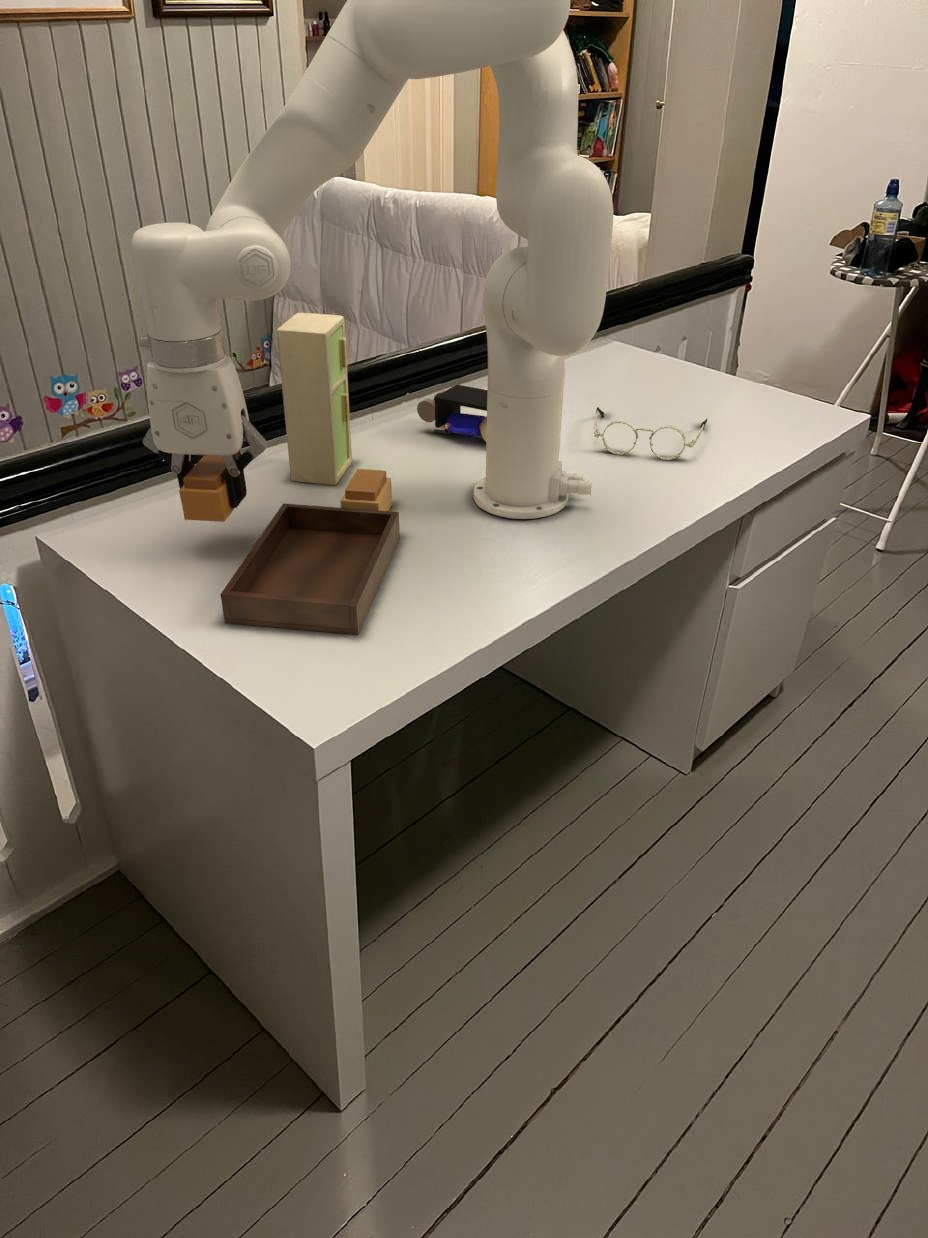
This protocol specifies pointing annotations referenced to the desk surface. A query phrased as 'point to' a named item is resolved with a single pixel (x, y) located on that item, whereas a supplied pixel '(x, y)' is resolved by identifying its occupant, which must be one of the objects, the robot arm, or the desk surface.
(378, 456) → the desk surface
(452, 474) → the desk surface
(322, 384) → the toy refrigerator
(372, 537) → the brown wooden tray
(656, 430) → the round wire eyeglasses
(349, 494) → the stepped wooden block
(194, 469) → the orange stepped block
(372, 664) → the desk surface
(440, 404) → the figurine character
